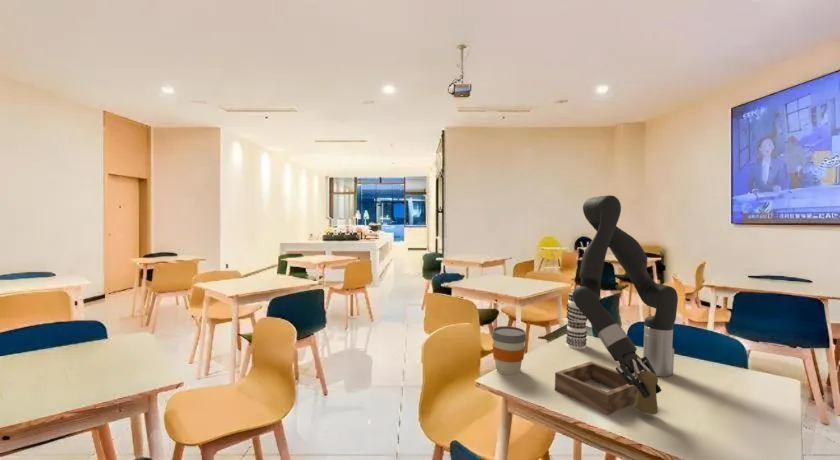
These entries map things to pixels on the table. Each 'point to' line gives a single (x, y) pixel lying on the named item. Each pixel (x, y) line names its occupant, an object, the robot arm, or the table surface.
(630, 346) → the robot arm
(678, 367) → the table surface
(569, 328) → the decorative candle
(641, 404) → the olive pawn
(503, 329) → the reusable coffee cup
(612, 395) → the walnut crate
